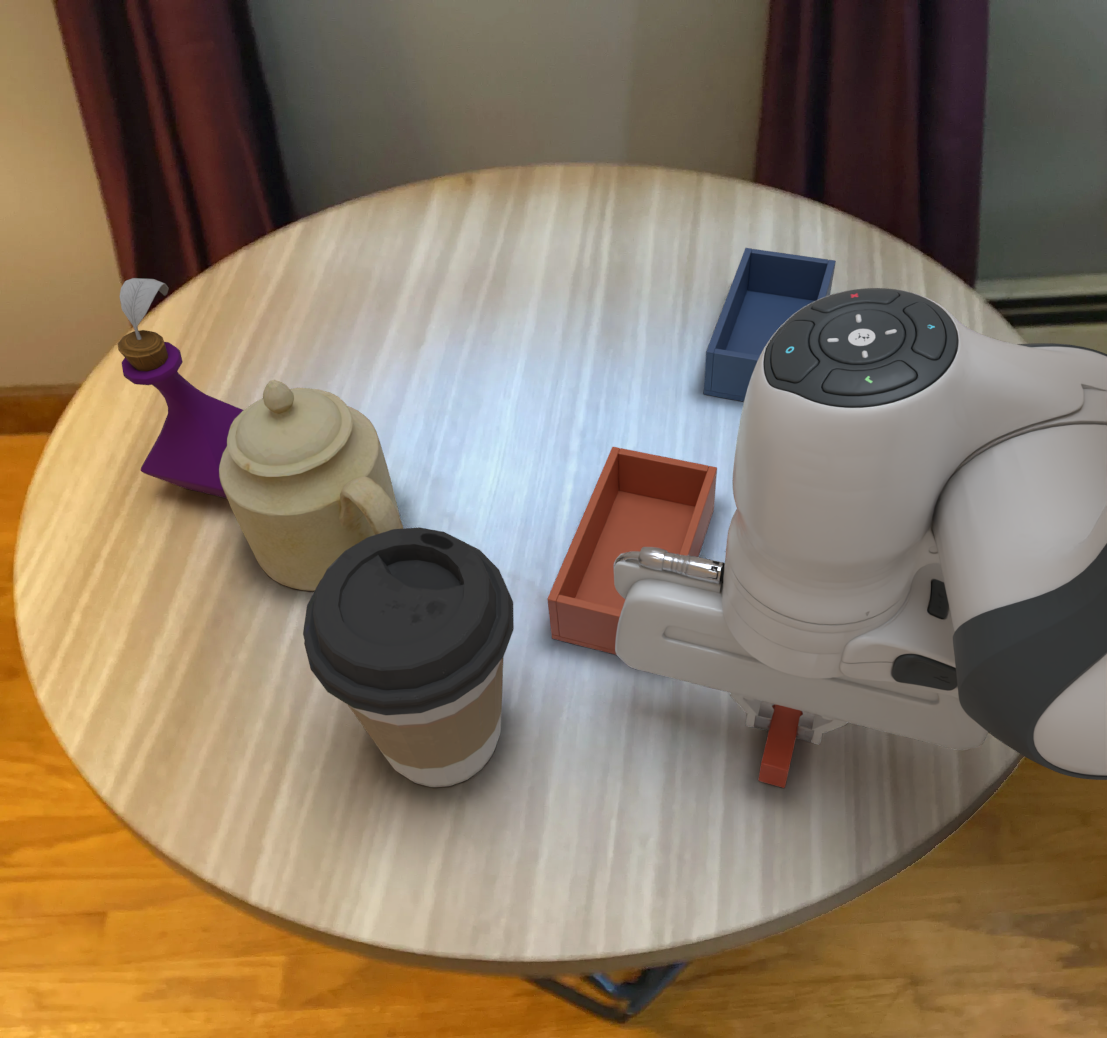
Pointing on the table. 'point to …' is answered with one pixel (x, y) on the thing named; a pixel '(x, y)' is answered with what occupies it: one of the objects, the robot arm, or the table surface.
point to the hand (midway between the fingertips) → (784, 725)
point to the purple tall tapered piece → (174, 401)
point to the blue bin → (759, 313)
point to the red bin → (627, 538)
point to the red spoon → (779, 746)
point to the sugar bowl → (305, 482)
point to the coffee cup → (415, 649)
